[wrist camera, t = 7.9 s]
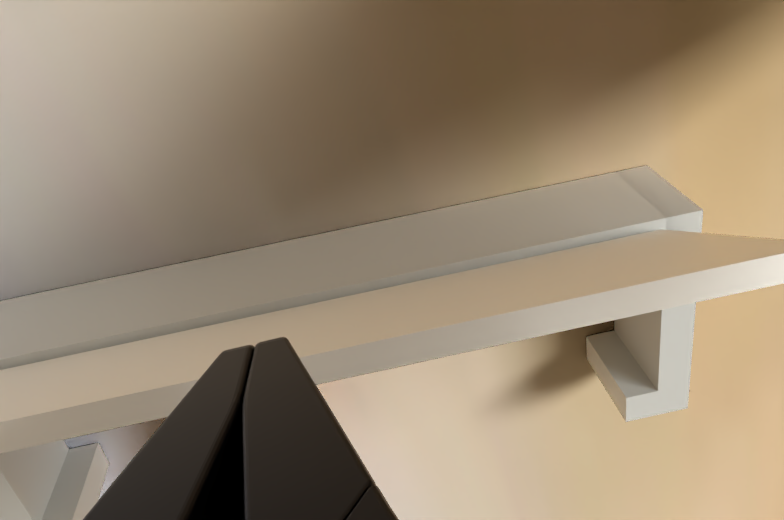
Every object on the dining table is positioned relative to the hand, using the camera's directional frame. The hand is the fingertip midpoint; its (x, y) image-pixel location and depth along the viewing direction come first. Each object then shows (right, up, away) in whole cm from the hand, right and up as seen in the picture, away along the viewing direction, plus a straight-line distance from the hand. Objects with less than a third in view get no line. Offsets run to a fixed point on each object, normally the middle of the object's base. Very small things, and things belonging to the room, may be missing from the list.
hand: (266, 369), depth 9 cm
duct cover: (0, 0, +5) cm, 5 cm away
